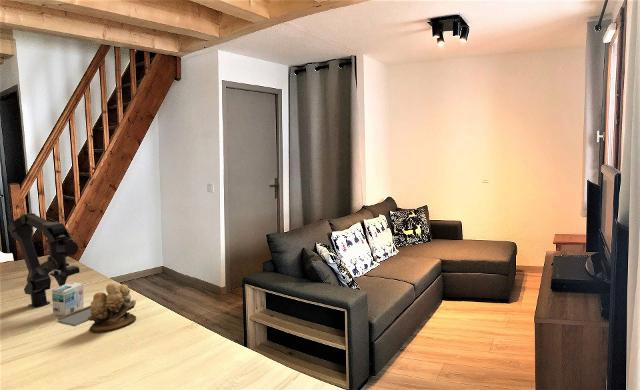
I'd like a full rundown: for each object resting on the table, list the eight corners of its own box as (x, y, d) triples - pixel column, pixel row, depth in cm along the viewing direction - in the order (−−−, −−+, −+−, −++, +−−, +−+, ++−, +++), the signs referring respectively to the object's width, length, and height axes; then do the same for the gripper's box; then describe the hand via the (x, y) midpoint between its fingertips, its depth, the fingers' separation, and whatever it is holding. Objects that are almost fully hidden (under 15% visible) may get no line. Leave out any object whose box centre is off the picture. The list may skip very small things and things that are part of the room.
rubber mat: (58, 321, 180) (57, 320, 180) (98, 306, 195) (98, 305, 195) (75, 325, 174) (75, 324, 174) (115, 309, 190) (114, 308, 190)
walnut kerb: (58, 320, 181) (57, 317, 181) (93, 306, 195) (93, 304, 195) (59, 320, 181) (59, 318, 181) (95, 306, 195) (95, 304, 195)
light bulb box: (65, 316, 185) (64, 291, 183) (52, 314, 186) (50, 289, 185) (84, 306, 195) (83, 283, 194) (71, 304, 197) (70, 281, 195)
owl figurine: (131, 314, 185) (127, 274, 182) (143, 321, 176) (140, 279, 174) (84, 328, 172) (80, 285, 170) (95, 336, 164) (91, 292, 162)
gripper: (24, 256, 186) (29, 291, 189) (52, 260, 178) (57, 297, 180) (51, 249, 196) (55, 283, 198) (78, 253, 188) (82, 288, 190)
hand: (62, 288), depth 192 cm, fingers closed
